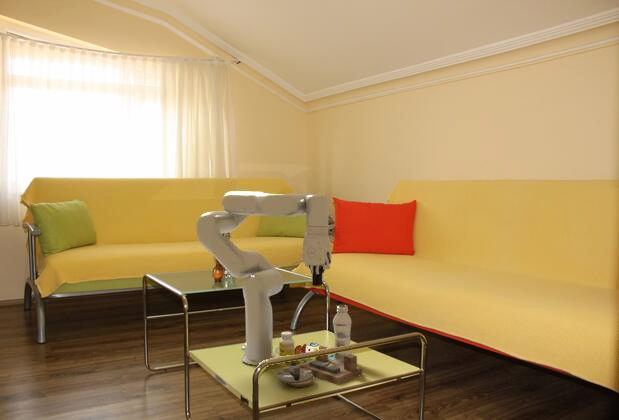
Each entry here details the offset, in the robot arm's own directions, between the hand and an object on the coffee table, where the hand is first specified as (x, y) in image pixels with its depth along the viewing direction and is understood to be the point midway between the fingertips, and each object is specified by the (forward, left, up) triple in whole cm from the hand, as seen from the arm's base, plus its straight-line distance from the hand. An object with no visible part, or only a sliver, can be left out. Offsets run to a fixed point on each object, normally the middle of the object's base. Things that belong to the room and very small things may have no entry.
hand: (317, 285), depth 180 cm
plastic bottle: (+1, +12, -29) cm, 31 cm away
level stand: (+5, +1, -29) cm, 29 cm away
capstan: (+4, -14, -29) cm, 32 cm away
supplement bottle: (-15, 0, -29) cm, 33 cm away
